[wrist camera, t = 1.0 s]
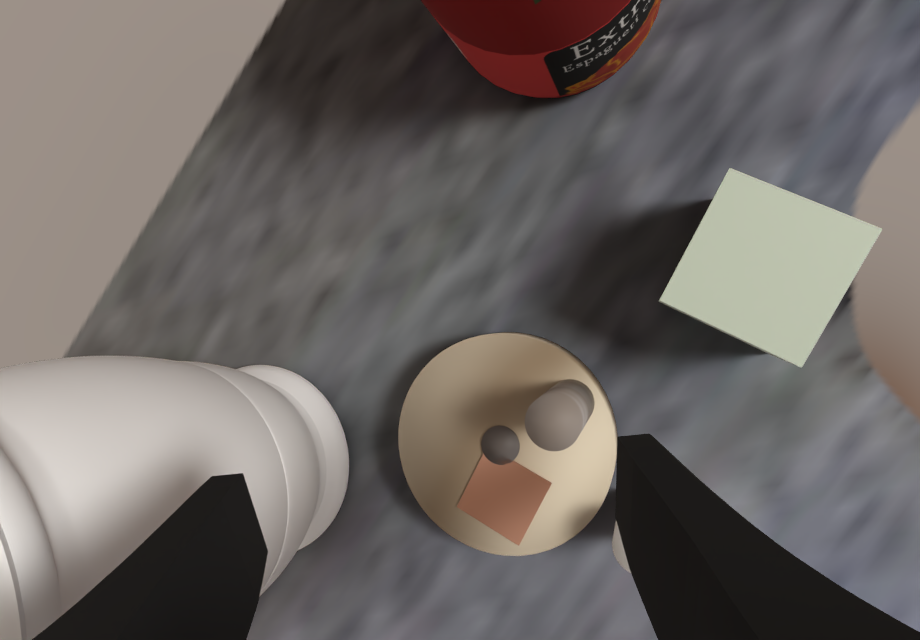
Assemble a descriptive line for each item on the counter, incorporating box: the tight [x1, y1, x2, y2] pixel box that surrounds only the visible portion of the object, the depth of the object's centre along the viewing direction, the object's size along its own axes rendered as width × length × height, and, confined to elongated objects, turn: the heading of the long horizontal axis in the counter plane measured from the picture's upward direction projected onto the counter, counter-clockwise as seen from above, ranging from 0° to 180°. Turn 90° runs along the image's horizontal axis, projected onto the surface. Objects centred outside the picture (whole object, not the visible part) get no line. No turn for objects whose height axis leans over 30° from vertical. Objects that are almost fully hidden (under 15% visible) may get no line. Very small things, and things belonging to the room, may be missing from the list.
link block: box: [658, 168, 882, 368], centre depth 19 cm, size 4×4×5 cm
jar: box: [0, 356, 349, 640], centre depth 20 cm, size 11×10×15 cm
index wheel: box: [398, 332, 618, 556], centre depth 21 cm, size 8×8×6 cm
